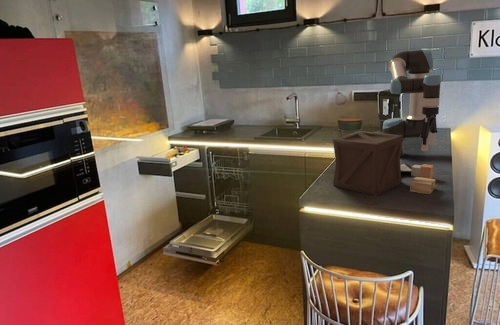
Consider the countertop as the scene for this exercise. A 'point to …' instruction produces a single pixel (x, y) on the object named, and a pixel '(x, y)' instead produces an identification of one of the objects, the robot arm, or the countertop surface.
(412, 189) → the oak block
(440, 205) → the countertop surface
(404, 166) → the empty snack wrapper
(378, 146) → the wooden crate
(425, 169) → the terracotta block
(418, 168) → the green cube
